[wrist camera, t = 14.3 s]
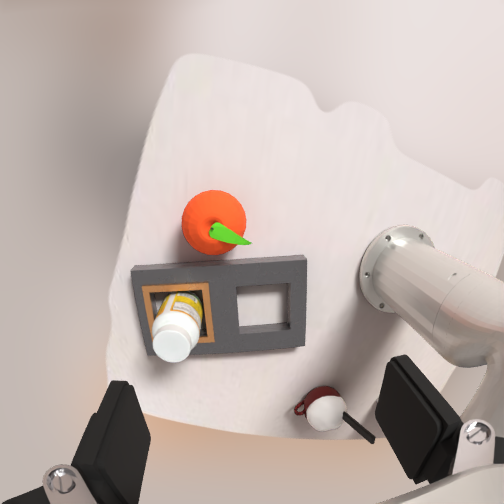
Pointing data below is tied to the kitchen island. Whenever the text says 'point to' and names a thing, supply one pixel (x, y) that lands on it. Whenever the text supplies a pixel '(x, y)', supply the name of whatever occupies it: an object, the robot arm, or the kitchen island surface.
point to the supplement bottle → (177, 326)
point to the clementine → (214, 222)
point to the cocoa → (329, 412)
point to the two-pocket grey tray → (227, 300)
